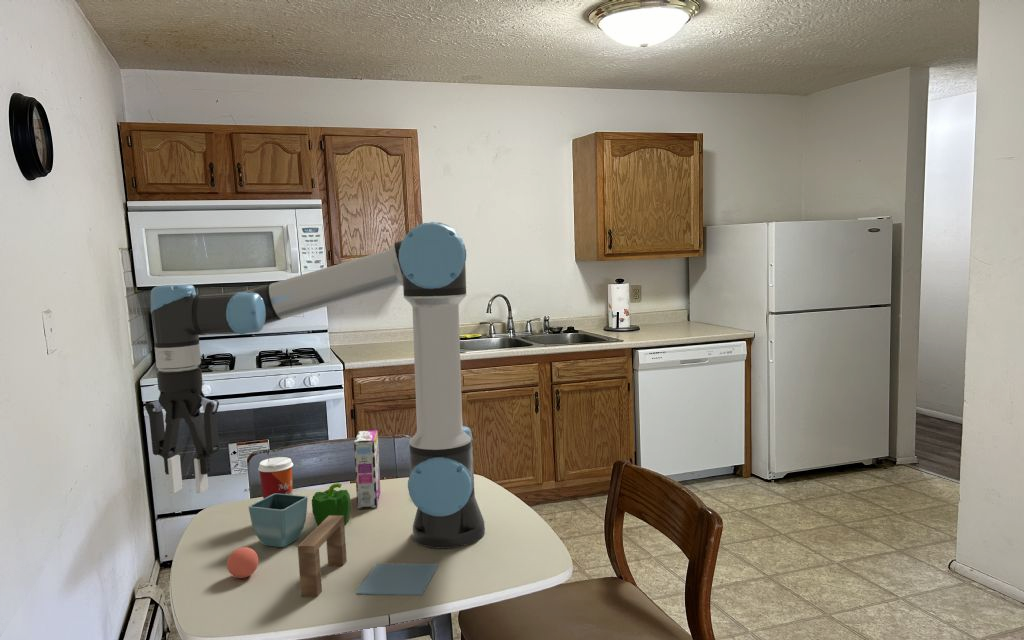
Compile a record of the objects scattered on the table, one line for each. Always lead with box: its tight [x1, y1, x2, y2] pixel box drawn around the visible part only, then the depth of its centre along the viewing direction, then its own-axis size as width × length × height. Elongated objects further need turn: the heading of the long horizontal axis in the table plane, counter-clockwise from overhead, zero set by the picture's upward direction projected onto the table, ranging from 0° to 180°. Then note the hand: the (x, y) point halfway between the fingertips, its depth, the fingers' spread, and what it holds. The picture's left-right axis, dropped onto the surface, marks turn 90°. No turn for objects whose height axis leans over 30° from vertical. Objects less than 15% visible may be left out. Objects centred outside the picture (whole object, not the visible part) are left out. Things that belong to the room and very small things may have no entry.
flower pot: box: [248, 493, 309, 548], centre depth 149 cm, size 9×9×9 cm
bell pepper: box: [311, 482, 352, 527], centre depth 156 cm, size 8×8×10 cm
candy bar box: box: [353, 429, 381, 510], centre depth 172 cm, size 11×5×16 cm, turn 6°
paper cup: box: [257, 456, 294, 499], centre depth 161 cm, size 8×8×14 cm
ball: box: [226, 546, 259, 579], centre depth 133 cm, size 6×6×6 cm
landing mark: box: [355, 563, 438, 596], centre depth 130 cm, size 12×12×1 cm
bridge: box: [297, 516, 347, 598], centre depth 131 cm, size 3×14×9 cm, turn 173°
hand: (189, 490), depth 133 cm, fingers open, 4 cm apart
